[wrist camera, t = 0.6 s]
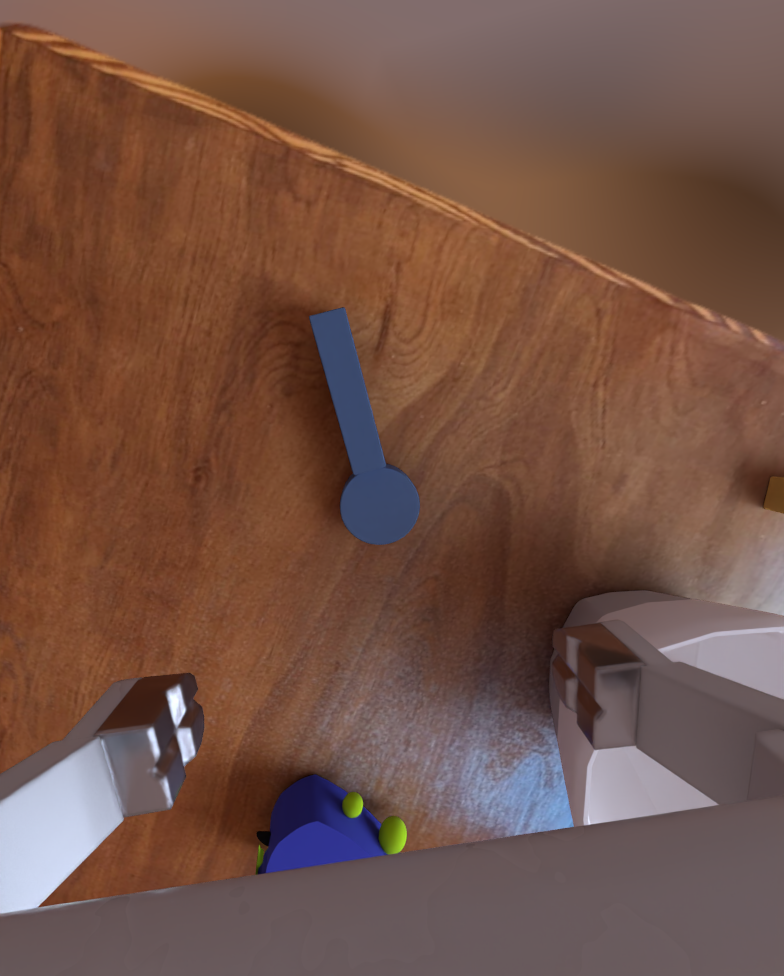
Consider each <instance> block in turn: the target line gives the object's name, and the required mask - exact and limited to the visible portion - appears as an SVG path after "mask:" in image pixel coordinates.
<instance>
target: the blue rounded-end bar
mask: <svg viewBox="0 0 784 976" xmlns="http://www.w3.org/2000/svg"><path fill="white" fill-rule="evenodd" d="M309 319H310V323H311V327H312V330H313V334H314V337H315V341H316V344H317V348H318V351H319V355H320V358H321V362H322V365H323V369H324V372H325V376H326V380H327V383H328V387H329V390H330V394H331V397H332V401H333V404H334V408H335V411H336V415H337V418H338V422H339V426H340V429H341V433H342V436H343V440H344V443H345V447H346V450H347V454H348V457H349V461H350V464H351V468H352V471H353V474H352V475H351V476H350V477H349V478H348V480H347V481H346V483H345V485H344V488H343V491H342V495H341V500H340V513H341V517H342V520H343V522H344V524H345V526H346V528H347V529H348V530H349V531H350V532H351V534H353V535H354V536H355V537H356V538H358V539H360V540H361V541H364V542H366V543H370V544H376V545H383V544H389V543H392V542H395V541H397V540H399V539H401V538H402V537H404V536H405V535H406V534H408V533H409V531H410V530H411V529H412V528H413V526H414V525H415V523H416V521H417V518H418V515H419V510H420V501H419V496H418V493H417V490H416V488H415V486H414V485H413V483H412V482H411V480H410V479H409V477H408V476H407V475H406V474H405V473H404V472H403V471H402V470H400V469H399V468H397V467H395V466H392V465H389V464H386V463H385V459H384V455H383V451H382V447H381V444H380V440H379V436H378V432H377V428H376V425H375V421H374V417H373V413H372V409H371V406H370V402H369V398H368V394H367V390H366V387H365V383H364V379H363V375H362V371H361V368H360V364H359V360H358V356H357V352H356V348H355V345H354V341H353V337H352V333H351V329H350V326H349V322H348V318H347V314H346V310H345V308H344V307H342V308H338V309H335V310H331V311H327V312H323V313H319V314H315V315H311V316H309Z"/></svg>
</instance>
